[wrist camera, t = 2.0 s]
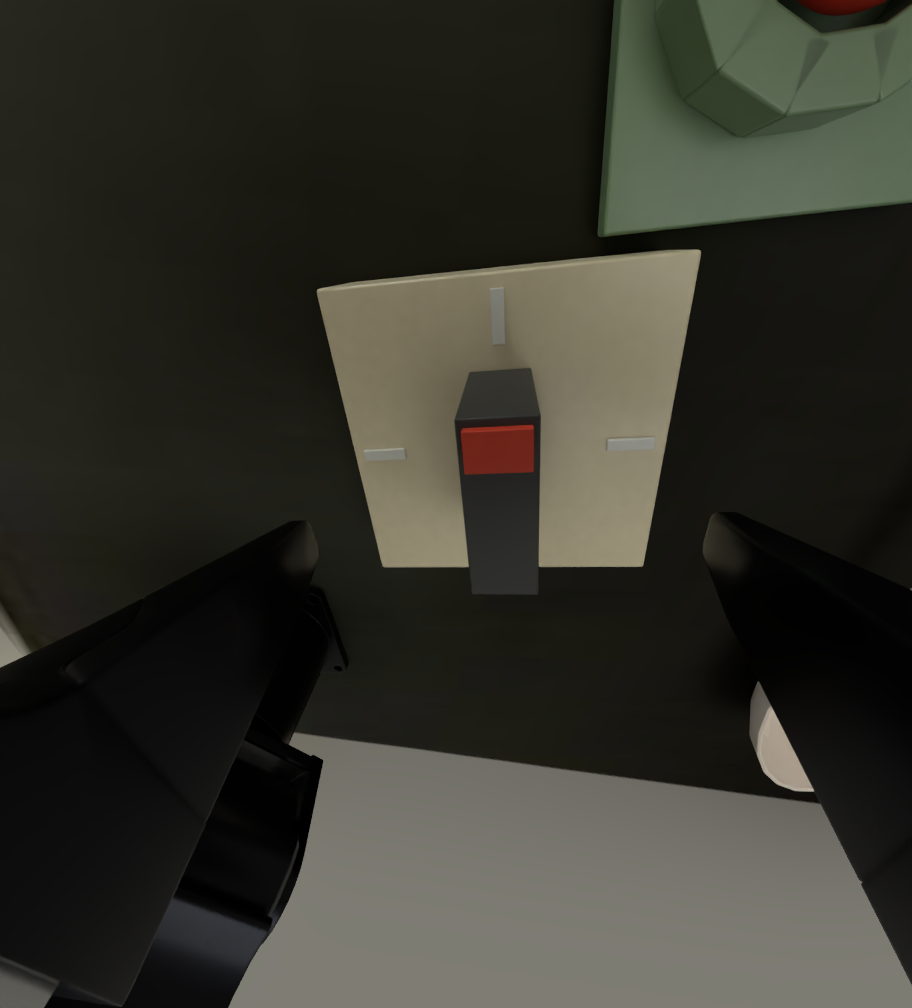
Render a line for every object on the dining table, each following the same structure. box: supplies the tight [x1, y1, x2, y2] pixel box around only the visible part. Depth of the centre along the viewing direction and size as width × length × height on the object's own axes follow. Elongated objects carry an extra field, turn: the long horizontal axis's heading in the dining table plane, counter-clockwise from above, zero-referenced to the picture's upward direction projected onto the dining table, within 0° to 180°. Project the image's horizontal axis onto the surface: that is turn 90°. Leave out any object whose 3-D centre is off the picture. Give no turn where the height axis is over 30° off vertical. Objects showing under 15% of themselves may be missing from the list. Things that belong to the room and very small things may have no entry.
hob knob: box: [454, 368, 541, 594], centre depth 11 cm, size 5×2×4 cm, turn 6°
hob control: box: [317, 250, 701, 567], centre depth 14 cm, size 10×10×3 cm
